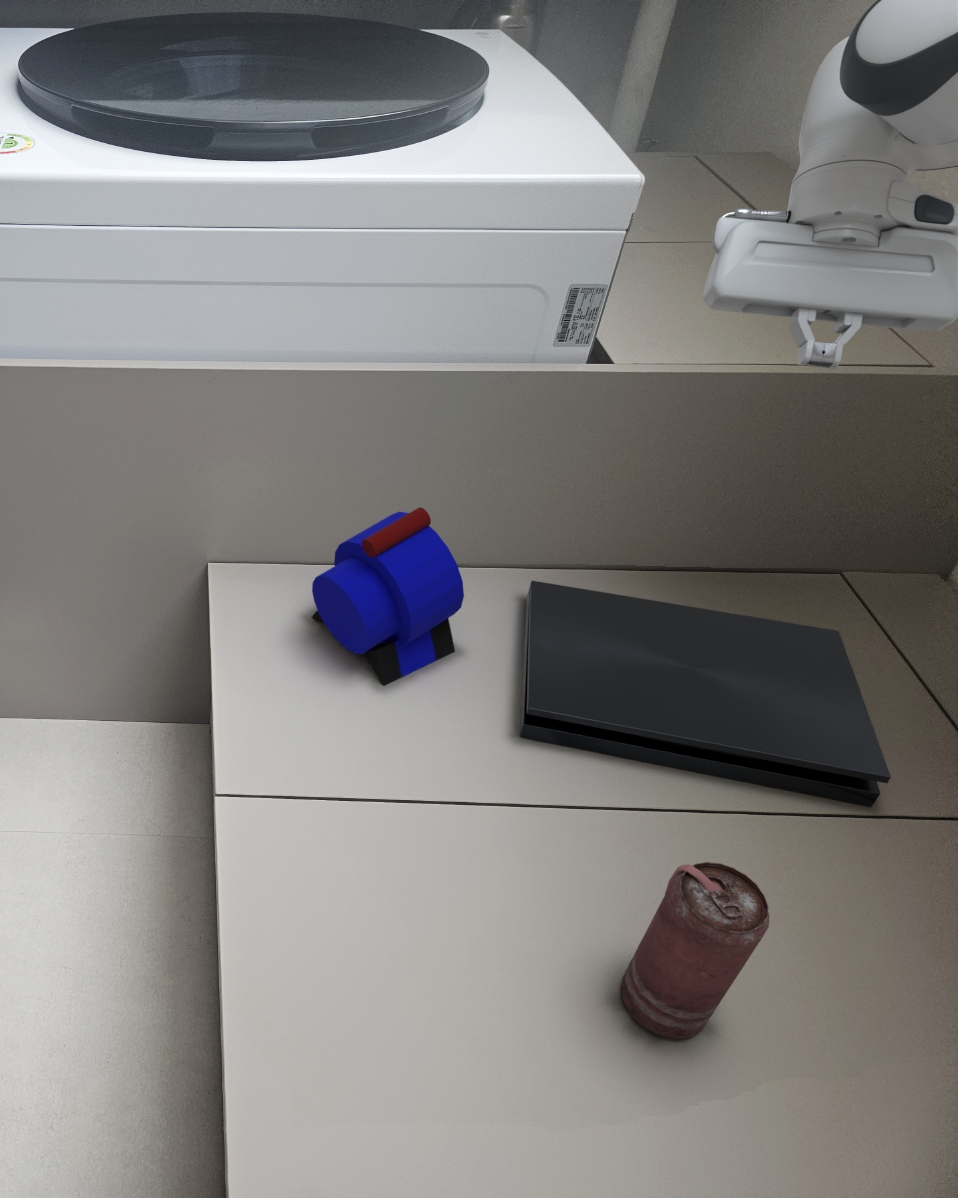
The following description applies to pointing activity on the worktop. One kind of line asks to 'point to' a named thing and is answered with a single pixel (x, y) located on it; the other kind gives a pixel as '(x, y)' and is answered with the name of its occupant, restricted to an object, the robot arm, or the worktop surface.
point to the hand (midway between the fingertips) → (818, 365)
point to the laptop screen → (699, 679)
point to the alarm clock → (392, 595)
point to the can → (694, 948)
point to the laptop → (690, 754)
